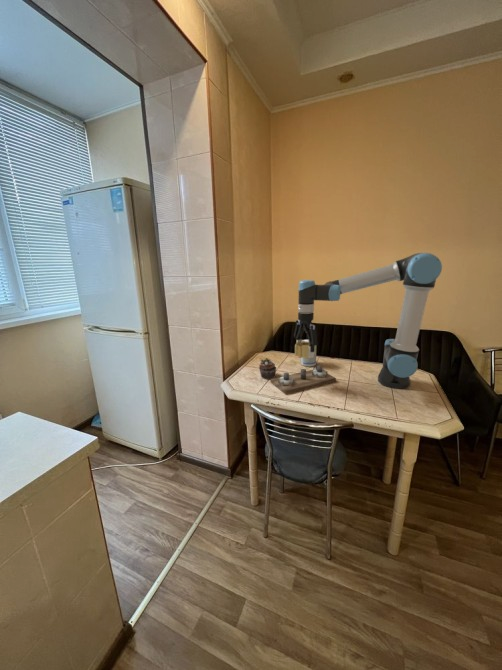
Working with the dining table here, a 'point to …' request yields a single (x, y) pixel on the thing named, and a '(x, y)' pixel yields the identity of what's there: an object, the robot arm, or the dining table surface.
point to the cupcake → (267, 369)
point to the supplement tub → (308, 361)
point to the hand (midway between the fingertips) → (304, 354)
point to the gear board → (302, 380)
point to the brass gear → (302, 349)
